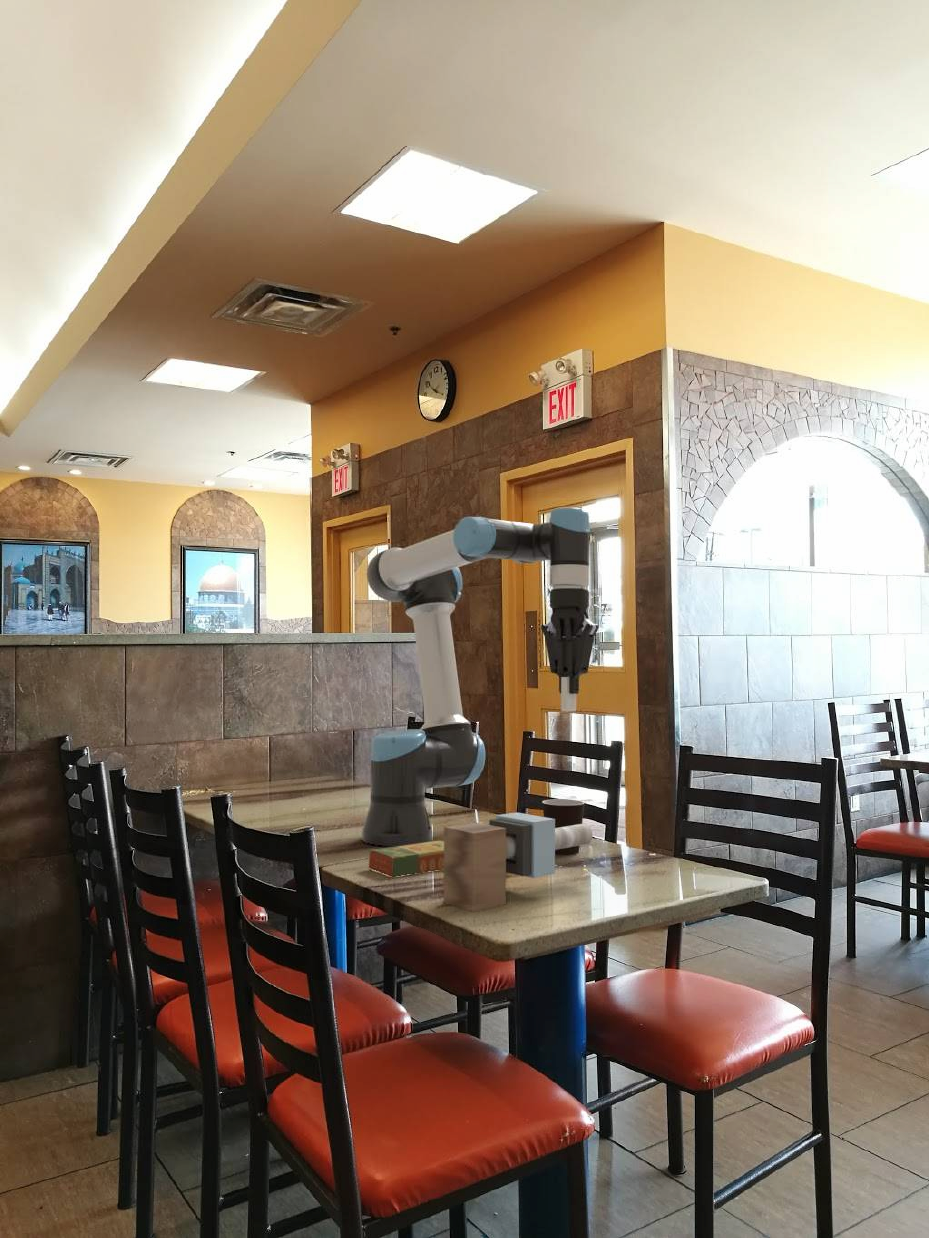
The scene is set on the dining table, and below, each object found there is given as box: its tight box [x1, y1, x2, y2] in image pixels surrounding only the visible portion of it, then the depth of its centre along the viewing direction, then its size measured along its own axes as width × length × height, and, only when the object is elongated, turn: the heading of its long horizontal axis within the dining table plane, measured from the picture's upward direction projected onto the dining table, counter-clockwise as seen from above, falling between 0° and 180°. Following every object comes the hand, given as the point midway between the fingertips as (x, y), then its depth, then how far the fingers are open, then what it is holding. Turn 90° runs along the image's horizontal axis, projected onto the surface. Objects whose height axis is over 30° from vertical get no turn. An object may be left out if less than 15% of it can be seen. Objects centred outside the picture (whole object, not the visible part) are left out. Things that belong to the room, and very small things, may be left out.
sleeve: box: [495, 812, 556, 879], centre depth 159 cm, size 9×5×9 cm, turn 42°
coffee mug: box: [541, 798, 585, 856], centre depth 195 cm, size 12×9×10 cm
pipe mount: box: [443, 822, 593, 913], centre depth 159 cm, size 7×30×12 cm, turn 132°
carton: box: [368, 840, 444, 877], centre depth 177 cm, size 8×16×4 cm, turn 127°
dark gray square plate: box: [488, 818, 532, 877], centre depth 157 cm, size 8×2×8 cm, turn 42°
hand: (568, 710), depth 182 cm, fingers closed
